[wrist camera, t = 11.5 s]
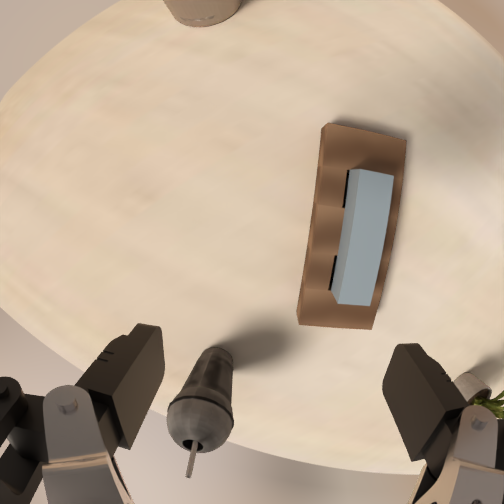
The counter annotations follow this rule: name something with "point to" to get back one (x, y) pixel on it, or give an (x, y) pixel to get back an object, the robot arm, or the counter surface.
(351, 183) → the grey bridge block
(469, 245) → the counter surface
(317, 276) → the brown wooden slab
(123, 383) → the robot arm
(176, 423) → the beverage cup
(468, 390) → the house plant
